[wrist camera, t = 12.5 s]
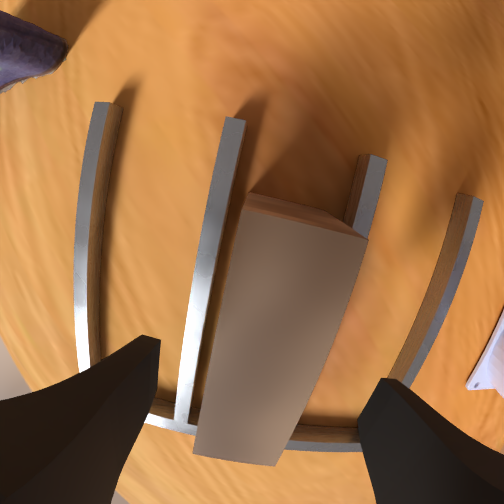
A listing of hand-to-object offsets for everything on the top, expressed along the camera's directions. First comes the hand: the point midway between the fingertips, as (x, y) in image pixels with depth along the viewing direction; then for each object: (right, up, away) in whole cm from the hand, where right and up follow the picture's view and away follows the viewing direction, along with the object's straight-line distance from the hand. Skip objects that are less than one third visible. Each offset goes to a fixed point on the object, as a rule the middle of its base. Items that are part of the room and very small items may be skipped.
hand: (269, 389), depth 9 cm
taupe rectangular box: (0, +2, +6) cm, 6 cm away
